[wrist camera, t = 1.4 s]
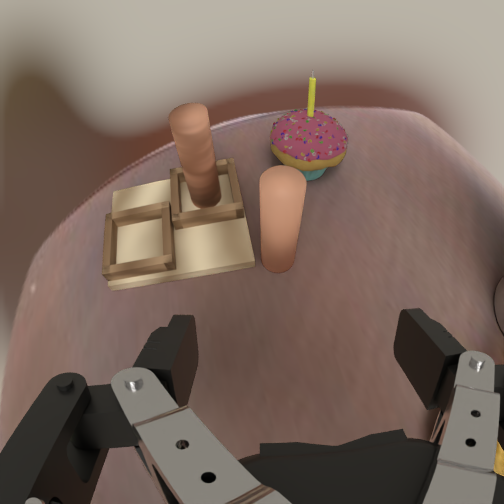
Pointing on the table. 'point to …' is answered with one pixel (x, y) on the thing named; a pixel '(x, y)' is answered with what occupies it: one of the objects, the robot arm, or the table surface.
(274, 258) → the peg
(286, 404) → the table surface
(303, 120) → the cupcake
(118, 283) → the board
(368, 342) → the table surface
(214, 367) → the table surface
